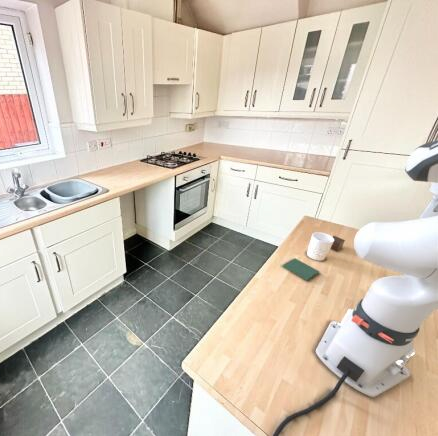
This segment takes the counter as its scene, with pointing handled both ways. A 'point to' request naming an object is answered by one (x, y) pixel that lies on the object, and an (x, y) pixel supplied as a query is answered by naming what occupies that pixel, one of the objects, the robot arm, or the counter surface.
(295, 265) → the flat green block
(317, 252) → the white cup
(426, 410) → the counter surface
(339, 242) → the walnut block
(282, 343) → the counter surface
